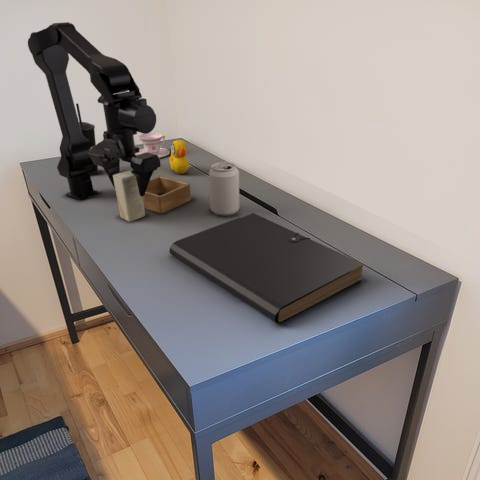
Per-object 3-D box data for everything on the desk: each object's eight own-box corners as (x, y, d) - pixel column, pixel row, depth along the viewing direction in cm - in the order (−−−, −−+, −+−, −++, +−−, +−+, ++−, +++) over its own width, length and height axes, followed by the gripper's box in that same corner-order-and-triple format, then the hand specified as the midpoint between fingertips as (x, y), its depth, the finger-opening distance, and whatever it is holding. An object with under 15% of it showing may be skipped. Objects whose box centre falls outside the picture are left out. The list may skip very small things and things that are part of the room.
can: (236, 218, 121) (235, 170, 114) (207, 215, 123) (205, 169, 116) (241, 206, 127) (241, 161, 120) (214, 204, 128) (212, 159, 121)
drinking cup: (107, 171, 151) (96, 102, 139) (89, 178, 146) (76, 107, 134) (90, 167, 154) (78, 99, 143) (72, 173, 149) (57, 104, 138)
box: (136, 211, 125) (130, 169, 119) (146, 216, 123) (140, 173, 116) (119, 217, 122) (111, 174, 116) (128, 222, 120) (121, 178, 113)
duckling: (194, 177, 146) (192, 143, 140) (177, 179, 145) (174, 145, 139) (183, 166, 155) (181, 134, 149) (167, 168, 153) (164, 136, 147)
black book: (365, 262, 94) (275, 309, 81) (362, 280, 96) (274, 328, 84) (253, 211, 114) (168, 242, 102) (253, 227, 117) (170, 259, 104)
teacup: (140, 161, 159) (137, 142, 156) (131, 151, 168) (128, 133, 165) (174, 156, 164) (173, 137, 160) (164, 147, 172) (162, 129, 169)
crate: (131, 204, 129) (128, 187, 127) (160, 191, 137) (159, 175, 134) (162, 213, 124) (160, 197, 121) (191, 200, 131) (189, 184, 129)
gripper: (64, 127, 109) (78, 194, 118) (120, 140, 100) (131, 211, 109) (102, 117, 116) (113, 181, 125) (158, 129, 107) (165, 196, 116)
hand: (129, 192), depth 119 cm, fingers open, 9 cm apart
